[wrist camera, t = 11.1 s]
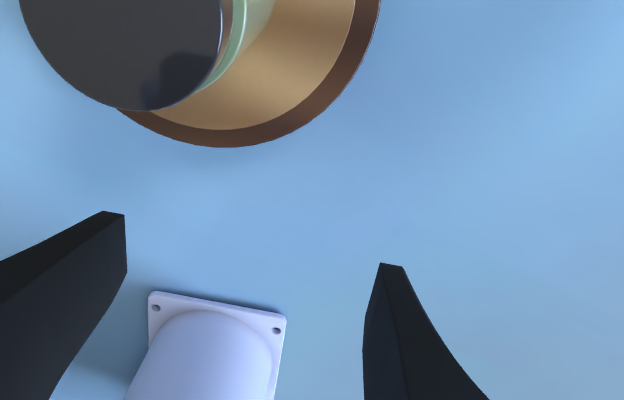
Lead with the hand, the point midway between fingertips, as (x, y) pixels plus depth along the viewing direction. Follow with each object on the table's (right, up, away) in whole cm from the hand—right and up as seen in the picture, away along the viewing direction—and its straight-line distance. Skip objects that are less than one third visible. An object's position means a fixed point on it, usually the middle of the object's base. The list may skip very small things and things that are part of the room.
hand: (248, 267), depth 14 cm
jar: (-2, +10, +4) cm, 11 cm away
